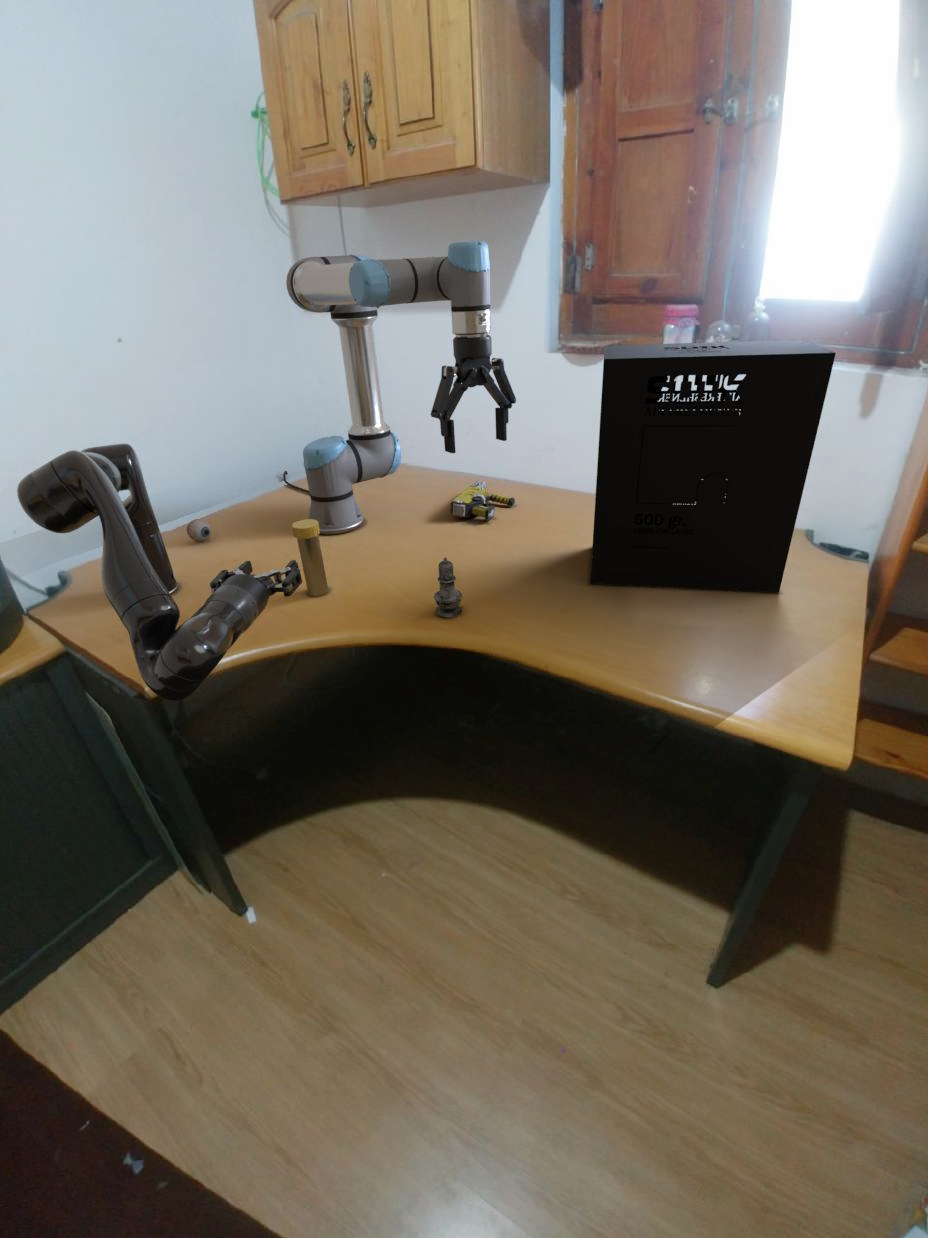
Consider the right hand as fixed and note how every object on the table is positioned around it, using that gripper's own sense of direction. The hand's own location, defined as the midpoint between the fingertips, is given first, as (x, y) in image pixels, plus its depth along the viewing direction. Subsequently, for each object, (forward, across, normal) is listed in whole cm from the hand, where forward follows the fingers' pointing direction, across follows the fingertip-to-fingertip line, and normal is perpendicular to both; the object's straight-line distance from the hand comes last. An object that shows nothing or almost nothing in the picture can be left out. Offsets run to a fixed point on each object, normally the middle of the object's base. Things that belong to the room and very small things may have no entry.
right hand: (476, 445), depth 127 cm
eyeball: (+28, -46, +64) cm, 84 cm away
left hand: (+12, -48, -1) cm, 49 cm away
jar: (+28, -35, +14) cm, 47 cm away
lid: (+12, -35, +14) cm, 40 cm away
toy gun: (+28, +26, +30) cm, 49 cm away
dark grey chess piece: (+28, -18, -13) cm, 36 cm away
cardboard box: (+28, +32, -31) cm, 52 cm away
